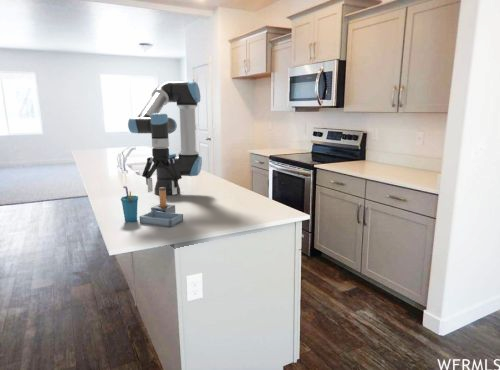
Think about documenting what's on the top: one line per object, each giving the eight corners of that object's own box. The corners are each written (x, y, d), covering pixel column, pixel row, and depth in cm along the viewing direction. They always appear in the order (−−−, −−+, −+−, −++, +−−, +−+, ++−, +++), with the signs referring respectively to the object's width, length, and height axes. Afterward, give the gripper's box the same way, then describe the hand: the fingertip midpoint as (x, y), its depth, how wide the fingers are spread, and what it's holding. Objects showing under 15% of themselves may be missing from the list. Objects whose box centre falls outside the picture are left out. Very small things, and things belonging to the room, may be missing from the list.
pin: (159, 214, 171) (157, 188, 169) (162, 213, 174) (161, 186, 171) (164, 215, 170) (163, 188, 167) (168, 213, 173) (166, 187, 170)
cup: (117, 217, 167) (115, 185, 164) (134, 215, 171) (132, 184, 168) (126, 225, 155) (123, 191, 152) (144, 222, 160) (142, 189, 157)
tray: (139, 222, 159) (139, 216, 158) (153, 216, 168) (153, 210, 168) (170, 227, 153) (170, 220, 153) (183, 220, 162) (183, 214, 162)
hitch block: (151, 215, 170) (151, 207, 169) (161, 211, 177) (161, 203, 176) (165, 217, 167) (165, 209, 166) (175, 213, 174) (175, 205, 173)
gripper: (133, 147, 167) (135, 192, 171) (179, 149, 158) (180, 196, 162) (143, 146, 173) (145, 189, 177) (188, 148, 164) (189, 193, 169)
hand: (162, 193), depth 170 cm, fingers open, 13 cm apart
